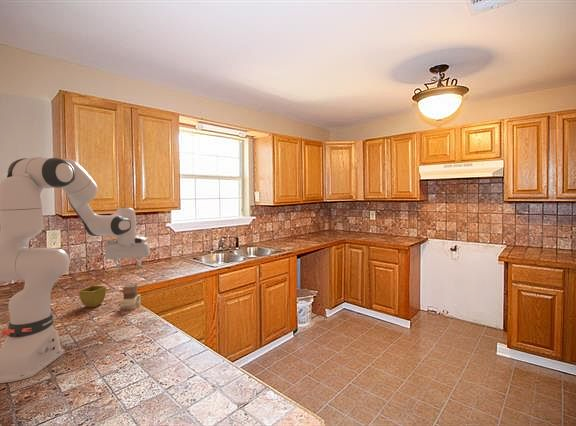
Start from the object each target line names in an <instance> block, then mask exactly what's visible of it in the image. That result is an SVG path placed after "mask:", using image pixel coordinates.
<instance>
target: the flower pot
mask: <svg viewBox="0 0 576 426" xmlns="http://www.w3.org/2000/svg"><path fill="white" fill-rule="evenodd" d="M106 290H107V286H105V285H90V286H88V287H85V288H83V289H81V290H78V294H79V299H80V302H81V303H82V304H83V306H84V307H86V308H87V307H88V308H95V307H97V306H100V305H101V304H102V303H103V302H104V300H105V298H106Z"/></svg>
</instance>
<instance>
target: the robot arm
mask: <svg viewBox="0 0 576 426" xmlns="http://www.w3.org/2000/svg"><path fill="white" fill-rule="evenodd" d="M52 188H59V189H60V188H61V190H63V192H64V193H65V195H67V199H68V200H67V201H68V203H69V205H70V207H71V208H72V209H73V211H74V212H75V214H76V215H77V217H78V218H79V220H80V221H81V222H82V224H83V226H84V228H85V231H86V233H87V234H88V235H89V236H91V237H99V236H100V237H101V236H103V237H104V236H105V237H106V236H109V237H110V236H111V237H112V236H116V239H114V240H109V239H108V240H107V241H105V243H104V248H105V251H104V252H105V253H104V257H105V259H106V260H112V261H113V263H115V265H116V268H118V269H119V268H121V267H122V266H121V265H122V264H121V263H119V262H118V260H120V259H121V260H122V259H137V258H138V262H136V267H141V266H142V261H143V260H144V258H148V257H149V256H150V255H151V249H150V245H149V243H148V238H147V237H146V236H142V235H138V233H137V230H136V229H137V215H136V211H135V209H134V208H132V207H125V206H124V207H123V206H122V207H117V209H116V211H115V212H113V213H112V214H110V215H108V214H107V215H106V214H105V215H103V214H97V213H95V212H94V210H93V209H92V207H91V206H90V204H89V203H91V202H92V201H93V200H94V199H95V198H96V196H97V195H98V191H99V187H98V185H97V183H96V182H95V180H94V179H93V178H92V176H91V175H90V174H89V173H88V172H87V171H86V170H85V169H84V168H83V167H82V165H80V164H79V163H77V161H76V160H73V159H71V158H64V159H63V158H58V157H42V156H41V157H40V156H39V157H30V158H26V157H25V158H20V159H16V160H14V161H13V162H11V164H10V165H9V167H8V169H7V175H6V178H4V179H3V180H1V181H0V282H12V281H13V282H14V281H15V282H16V281H17V282H18V281H24V286H23V289H22V290H19V291H18V292H16V293H15V294H14V295H12V297H10V299H9V301H8V313H9V322H8V326H7V328H3V329H1V332H0V333H1V337H3V336H6V338H5V340H4V342H2V344H1V347H0V384H5V383H11V382H12V383H13V382H19V381H21V380H26V379H29V378H32V377H33V376H36V375H37V374H38V373H39V372H41V371H42V370H43V369H45V368H47V366H49V365H50V364H51V363H53V362H55V360H57V359H58V358H60V357H61V356H63V355H64V354H65V353H66V351H65V349H63V348H62V347H61V342H60V336H59V332H58V330H57V329H56V328H55V327H54V316H53V313H52V309H51V308H52V307H51V294H52V290H53V286H54V285H55V284H56V282H57V280H58V279H59V278H61V277H62V276H64V275H65V273H66V272H67V271H68V269H69V267H70V264H71V261H70V260H71V259H70V255H69V254H68V253H67V252H66V251H65V249H62V248H55V247H54V248H53V247H29V245H30V244H29V243H30V241H31V239H32V238H34V237H37V235H39V234H41V232H43V230H44V217H43V206H42V205H43V204H42V199H41V192H42V191H43V189H52Z"/></svg>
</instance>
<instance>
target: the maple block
mask: <svg viewBox="0 0 576 426" xmlns="http://www.w3.org/2000/svg"><path fill="white" fill-rule="evenodd" d="M141 297H142V295H141V294H137V296H136V297H135V298H132V299H124V296H123V297H122V298H121V299H119V305H120V308H119V309H120V310H134V309H136V308H138V305H139V306H140V305H141V304H142V300H141V299H142V298H141Z"/></svg>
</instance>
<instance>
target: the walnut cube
mask: <svg viewBox="0 0 576 426" xmlns="http://www.w3.org/2000/svg"><path fill="white" fill-rule="evenodd" d="M122 291H123V297H124V299H132V298H135V297H136V296H137V295H138V283H128V284H125V285H124V286H123V287H122Z"/></svg>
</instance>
